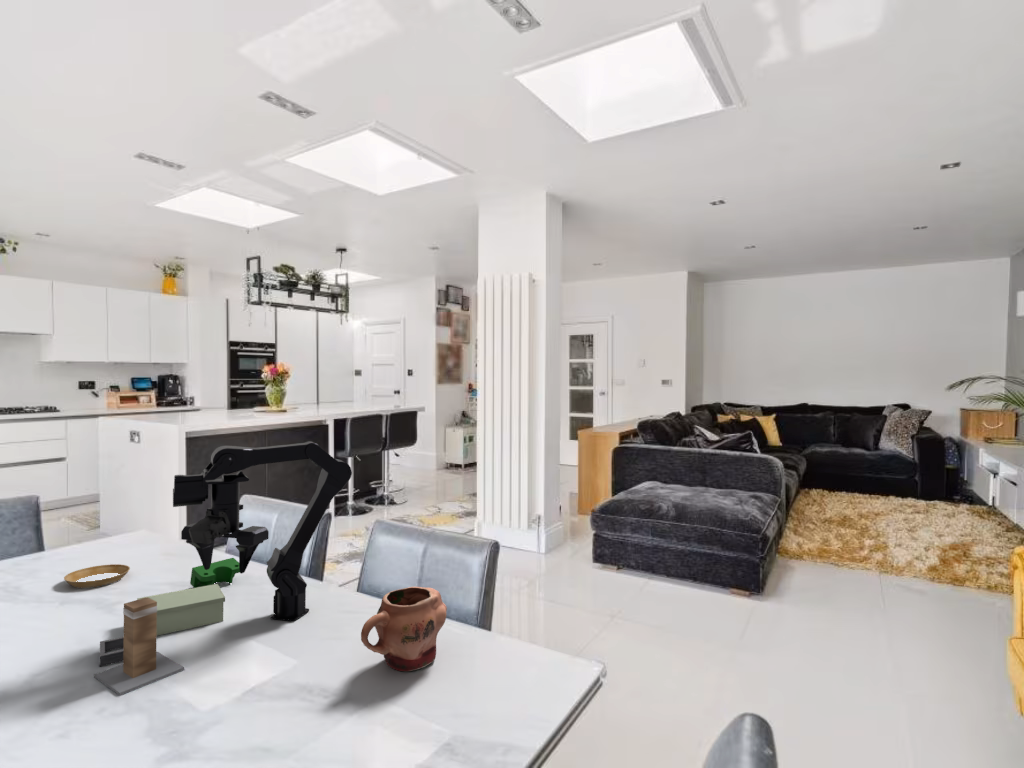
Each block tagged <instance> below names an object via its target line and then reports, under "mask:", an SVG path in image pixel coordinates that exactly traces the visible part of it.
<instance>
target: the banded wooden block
mask: <svg viewBox="0 0 1024 768" xmlns="http://www.w3.org/2000/svg"><path fill="white" fill-rule="evenodd" d="M145 597H146V598H142V597H141V598H142V599H139V600H137V599H136V600H132V601H128V602H126V603H123V612H122V613H123V637H124V647H123V648H122V650H123V661H122V664H123V672H124V673H126V674H127V675H129V676H130V677H132V678H135V677H138V676H140V675H143V674H145V673H148V672H150V671H153V670H155V669H156V652H157V636H158V635H157V602H156V601H154V600H152V599H150V598H148V597H147V596H145ZM156 635H157V636H156Z"/></svg>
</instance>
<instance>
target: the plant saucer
mask: <svg viewBox="0 0 1024 768" xmlns="http://www.w3.org/2000/svg"><path fill="white" fill-rule="evenodd" d="M130 569H131V568H130V566H129V565H126V564H120V563H118V564H116V563H115V564H113V563H112V564H111V563H110V564H101V565H94V566H90V567H85V568H81V569H78V570H74V571H72V572H69V573H67V574H66V575H65V576H64V577H63V580H64V581H66V583H68V584H69V585H70V586H71V587H74V588H77V587H78V589H92V588H91V587H93V588H98V587H97V586H100V587H103V586H102V585H105V586H108V585H107V584H109V585H111V584H110V583H112V584H114V583H113V582H115V583H117V582H119V581H121V580H122V579H123V578H124V577H125V576H126V575H127V574H128V572H129V571H130ZM104 573H118V574H120V575H117V576H114V577H111V578H106V579H102V580H95V581H86V582H78V581H77V580H79V579H81V578H85V577H88V576H92V575H97V574H104ZM121 578H122V579H121ZM118 580H119V581H118ZM76 581H77V582H76ZM116 581H117V582H116Z"/></svg>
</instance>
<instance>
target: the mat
mask: <svg viewBox="0 0 1024 768" xmlns="http://www.w3.org/2000/svg"><path fill="white" fill-rule="evenodd" d="M182 671H185V666H183V665H181V664H180V663H178V662H176V661H174V660H173V659H171V658H170V657H168V656H166V655H164V654H163V653H161V652H159V651H156V669H155V670H153V671H150V672H148V673H145V674H143V675H140V676H138V677H135V678H132V677H130V676H129V675H127V674H126V673H124V672H123V663H121V664H119V665H117V666H114V667H110V668H108V669H105V670H103V671H100V672H97V673H94V674H93V678H95V679H96V680H97V681H99V682H100V683H102V684H103V685H104V686H106V688H107V687H108V689H110V690H111V691H113V692H114V693H116V694H117V695H119V697H120V696H123V695H126V694H127V693H130V692H132V691H135V690H138V689H139V688H142V687H145V686H148V685H150V684H152V683H153V684H154V683H155V682H157V681H160V680H163V679H165V678H168V677H170V676H173V675H175V674H177V673H179V672H182Z"/></svg>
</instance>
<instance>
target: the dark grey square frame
mask: <svg viewBox="0 0 1024 768" xmlns="http://www.w3.org/2000/svg"><path fill="white" fill-rule="evenodd" d="M123 647H124V636H120V637H115V638H111V639H107V640H101V641H99V667H104V666H110V665H113V664H117V663H118V664H119V663H123ZM119 649H120V650H119ZM114 650H115V651H114ZM110 651H111V652H110ZM106 652H107V653H106Z"/></svg>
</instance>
